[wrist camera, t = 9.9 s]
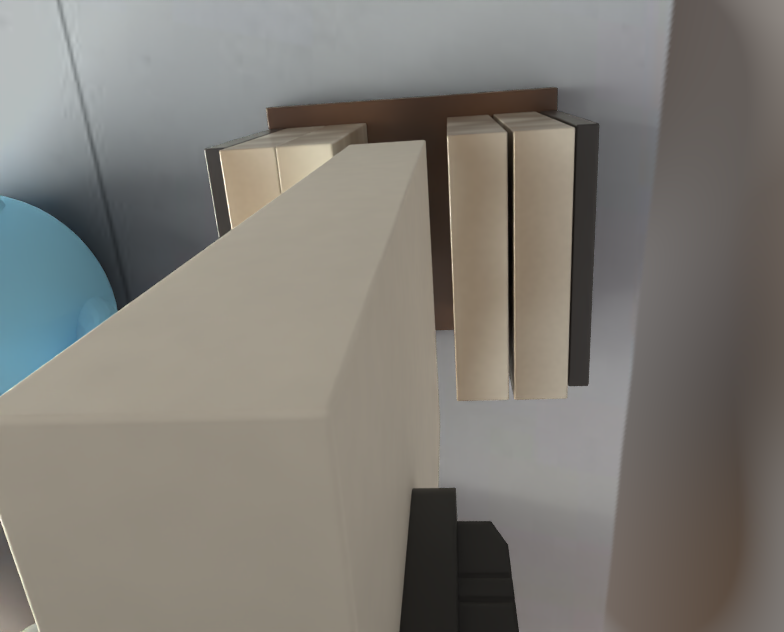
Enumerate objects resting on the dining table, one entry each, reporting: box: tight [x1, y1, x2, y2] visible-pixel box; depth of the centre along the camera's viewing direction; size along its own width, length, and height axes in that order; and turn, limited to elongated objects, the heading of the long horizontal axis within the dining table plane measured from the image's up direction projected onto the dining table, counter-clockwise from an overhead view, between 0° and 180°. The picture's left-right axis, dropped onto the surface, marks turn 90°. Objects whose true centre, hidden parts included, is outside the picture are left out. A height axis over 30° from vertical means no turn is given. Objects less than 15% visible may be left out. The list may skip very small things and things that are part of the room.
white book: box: [0, 140, 440, 632], centre depth 14 cm, size 2×10×17 cm, turn 4°
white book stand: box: [204, 87, 599, 401], centre depth 28 cm, size 14×12×11 cm
